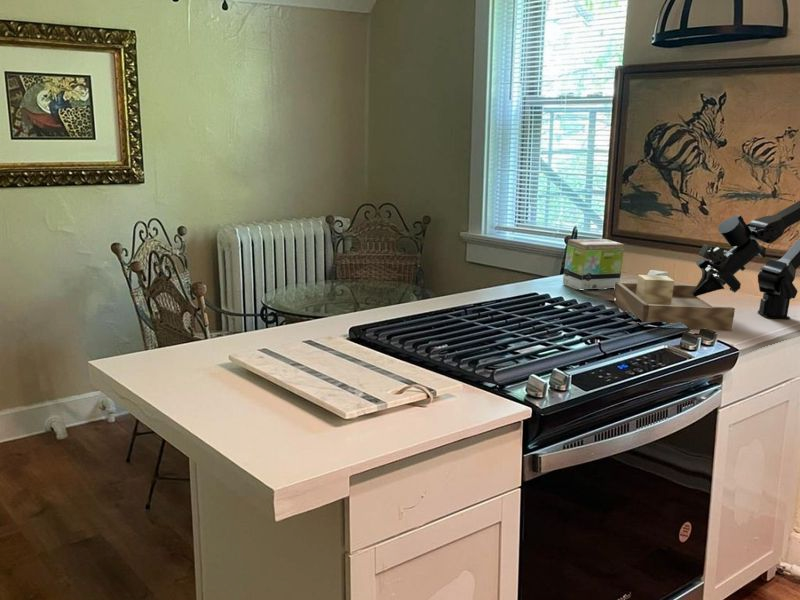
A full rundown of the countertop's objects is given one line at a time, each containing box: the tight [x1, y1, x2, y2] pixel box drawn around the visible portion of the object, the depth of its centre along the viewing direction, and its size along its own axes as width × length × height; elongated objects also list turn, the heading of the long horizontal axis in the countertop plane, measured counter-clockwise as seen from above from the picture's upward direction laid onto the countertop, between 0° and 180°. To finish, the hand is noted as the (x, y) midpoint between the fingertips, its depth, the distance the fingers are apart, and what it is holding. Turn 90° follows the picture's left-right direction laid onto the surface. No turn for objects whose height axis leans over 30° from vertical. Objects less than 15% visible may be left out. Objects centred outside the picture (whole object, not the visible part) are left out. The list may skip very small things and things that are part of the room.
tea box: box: [562, 238, 626, 290], centre depth 246 cm, size 15×10×15 cm, turn 115°
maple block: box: [636, 274, 675, 305], centre depth 215 cm, size 8×6×8 cm
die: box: [646, 269, 671, 278], centre depth 236 cm, size 8×9×10 cm
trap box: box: [612, 281, 736, 332], centre depth 216 cm, size 24×26×6 cm
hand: (693, 295), depth 216 cm, fingers closed
